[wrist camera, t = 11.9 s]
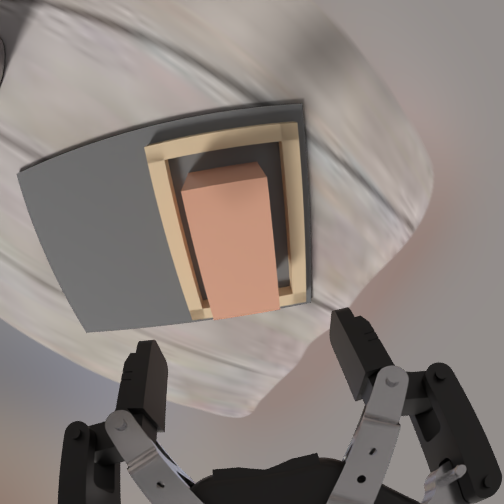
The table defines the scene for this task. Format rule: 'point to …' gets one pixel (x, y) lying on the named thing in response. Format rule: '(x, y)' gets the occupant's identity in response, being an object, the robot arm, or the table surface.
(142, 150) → the mat
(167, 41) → the table surface
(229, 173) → the terracotta block
